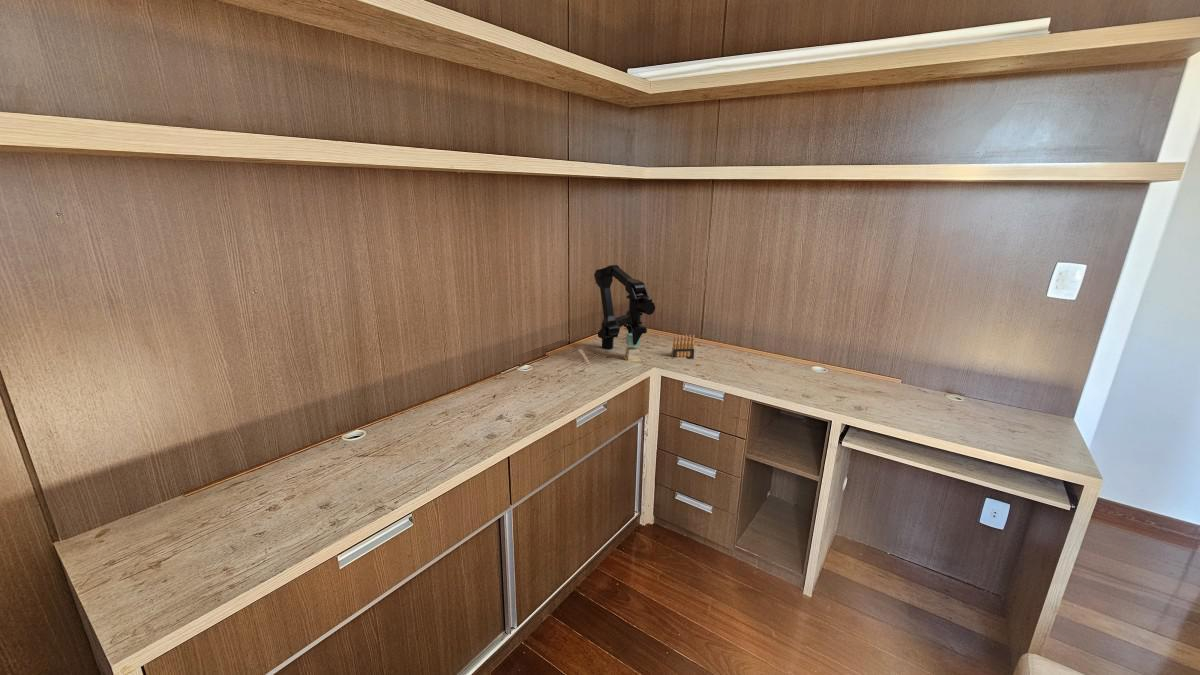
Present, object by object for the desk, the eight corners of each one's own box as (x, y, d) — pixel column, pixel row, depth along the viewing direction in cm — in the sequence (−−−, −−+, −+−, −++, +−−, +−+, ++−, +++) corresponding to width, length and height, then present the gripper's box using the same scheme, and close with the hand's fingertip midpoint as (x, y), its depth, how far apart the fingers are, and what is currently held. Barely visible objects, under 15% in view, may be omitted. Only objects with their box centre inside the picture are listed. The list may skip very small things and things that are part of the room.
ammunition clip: (672, 359, 234) (674, 335, 230) (670, 358, 236) (673, 333, 232) (693, 358, 236) (696, 334, 232) (692, 357, 238) (694, 333, 234)
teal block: (625, 343, 229) (626, 333, 228) (636, 343, 230) (637, 332, 229) (629, 347, 225) (629, 336, 223) (639, 346, 226) (640, 336, 224)
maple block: (625, 357, 231) (625, 346, 230) (635, 356, 232) (636, 346, 231) (628, 360, 227) (629, 350, 225) (638, 360, 228) (639, 349, 226)
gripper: (612, 305, 229) (610, 337, 234) (623, 315, 212) (621, 350, 217) (635, 304, 232) (633, 336, 237) (648, 314, 215) (645, 349, 219)
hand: (632, 343), depth 227 cm, fingers closed on teal block, 5 cm apart
